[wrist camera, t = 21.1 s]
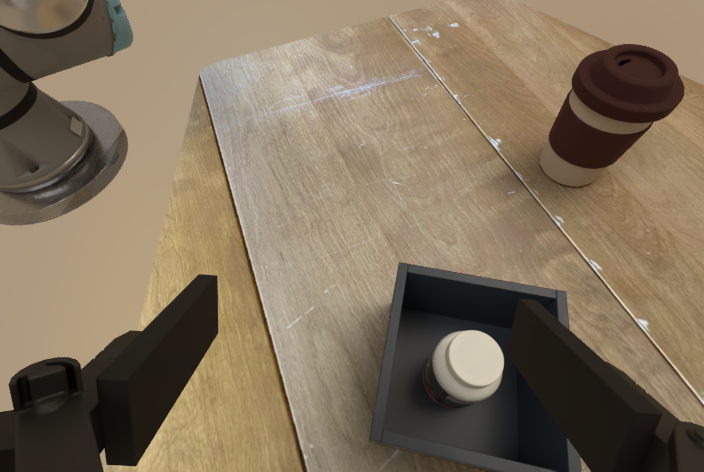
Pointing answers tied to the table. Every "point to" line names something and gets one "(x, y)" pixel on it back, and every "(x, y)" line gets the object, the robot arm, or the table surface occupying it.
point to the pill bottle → (463, 369)
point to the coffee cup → (609, 110)
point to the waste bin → (479, 418)
